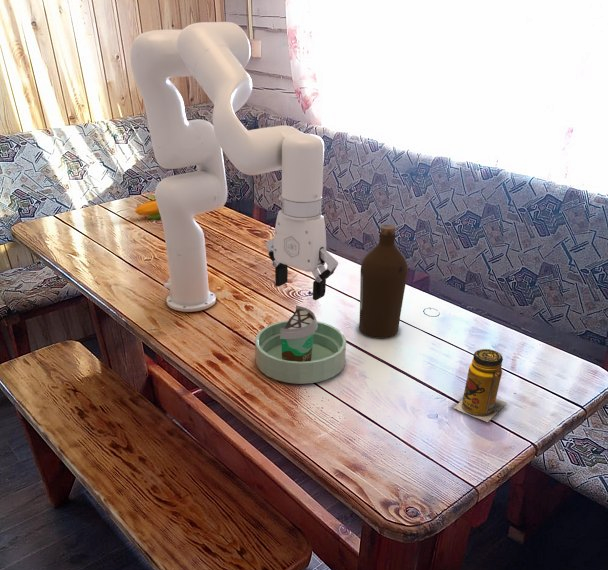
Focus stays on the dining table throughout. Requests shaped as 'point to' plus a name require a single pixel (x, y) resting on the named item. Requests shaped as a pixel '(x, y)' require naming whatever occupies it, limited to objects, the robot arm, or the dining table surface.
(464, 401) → the condiment
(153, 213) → the corn
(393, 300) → the olive oil
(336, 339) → the bowl
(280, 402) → the dining table surface
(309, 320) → the food container
